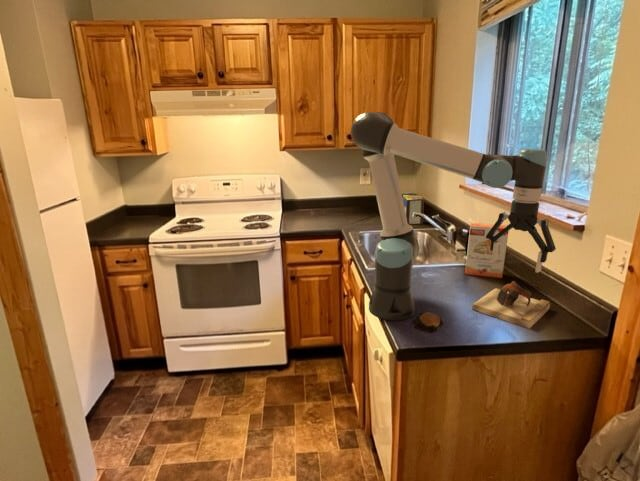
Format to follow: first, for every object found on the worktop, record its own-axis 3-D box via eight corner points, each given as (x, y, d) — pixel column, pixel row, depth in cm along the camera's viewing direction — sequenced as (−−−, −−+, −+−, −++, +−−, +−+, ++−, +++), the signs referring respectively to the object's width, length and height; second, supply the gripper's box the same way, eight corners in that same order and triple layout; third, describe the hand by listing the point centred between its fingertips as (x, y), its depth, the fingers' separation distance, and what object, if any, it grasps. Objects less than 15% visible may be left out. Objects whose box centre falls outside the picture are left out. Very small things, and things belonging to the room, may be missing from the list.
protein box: (417, 218, 253) (418, 194, 249) (422, 224, 239) (424, 199, 234) (401, 218, 254) (402, 194, 249) (405, 224, 239) (406, 199, 234)
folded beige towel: (472, 309, 131) (472, 302, 130) (494, 293, 142) (495, 286, 142) (529, 328, 118) (530, 320, 117) (549, 308, 130) (550, 301, 129)
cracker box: (465, 275, 160) (469, 225, 154) (465, 269, 165) (469, 221, 159) (502, 279, 155) (509, 228, 149) (501, 273, 160) (507, 224, 154)
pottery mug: (496, 295, 137) (511, 277, 134) (520, 313, 133) (536, 294, 130) (491, 300, 126) (507, 280, 124) (517, 319, 122) (535, 299, 120)
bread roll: (419, 315, 129) (420, 305, 128) (445, 321, 124) (446, 311, 123) (408, 329, 120) (409, 318, 119) (436, 336, 116) (436, 325, 115)
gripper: (480, 196, 126) (472, 258, 132) (568, 209, 109) (554, 279, 115) (490, 193, 131) (482, 253, 137) (575, 205, 113) (562, 273, 120)
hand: (515, 265), depth 126 cm, fingers open, 13 cm apart
